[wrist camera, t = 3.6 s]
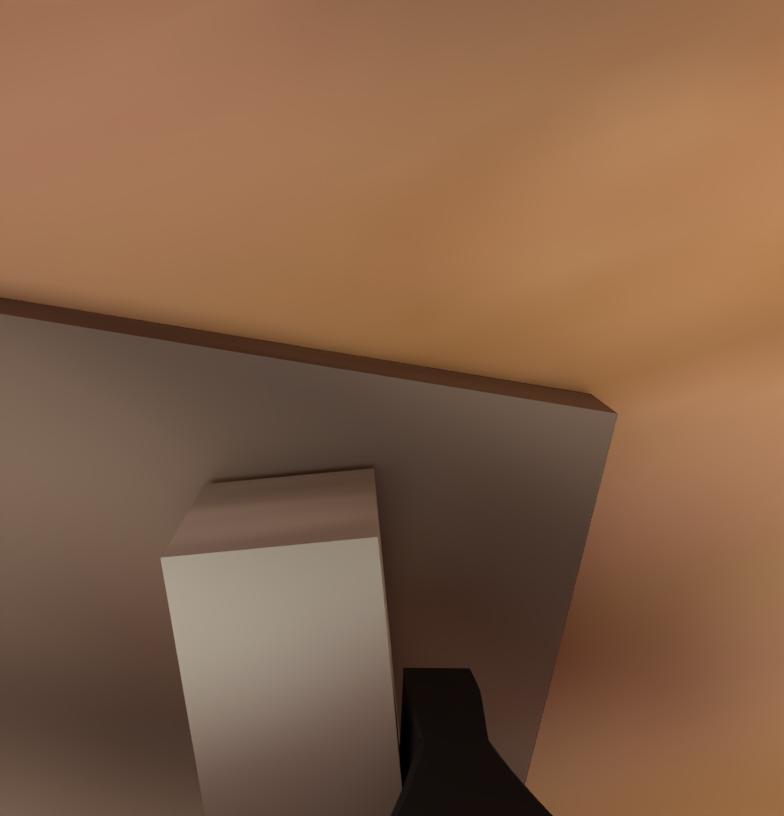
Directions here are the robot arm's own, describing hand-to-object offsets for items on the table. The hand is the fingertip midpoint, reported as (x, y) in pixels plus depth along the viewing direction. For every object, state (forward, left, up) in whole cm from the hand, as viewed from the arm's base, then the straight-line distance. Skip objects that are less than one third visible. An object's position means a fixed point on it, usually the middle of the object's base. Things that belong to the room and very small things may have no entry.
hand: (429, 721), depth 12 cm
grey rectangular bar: (-3, +1, -1) cm, 3 cm away
